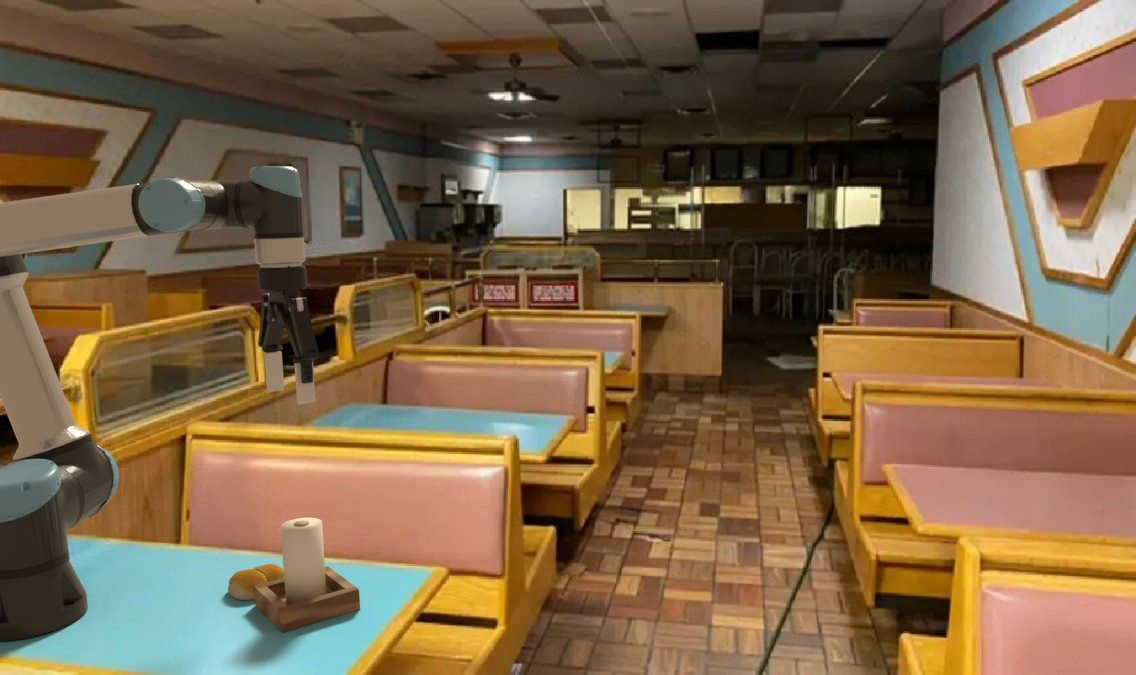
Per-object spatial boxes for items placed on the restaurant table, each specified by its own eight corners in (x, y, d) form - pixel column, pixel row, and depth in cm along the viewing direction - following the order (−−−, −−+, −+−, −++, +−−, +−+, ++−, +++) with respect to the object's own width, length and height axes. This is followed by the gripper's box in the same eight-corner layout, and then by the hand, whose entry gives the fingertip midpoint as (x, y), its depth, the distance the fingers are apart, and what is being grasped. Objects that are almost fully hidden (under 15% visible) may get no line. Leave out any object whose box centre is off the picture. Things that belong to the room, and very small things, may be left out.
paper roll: (280, 598, 143) (275, 521, 141) (317, 588, 146) (313, 513, 144) (293, 611, 138) (288, 532, 136) (332, 600, 141) (328, 523, 140)
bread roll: (297, 588, 150) (295, 564, 150) (245, 606, 144) (243, 581, 143) (271, 575, 156) (269, 552, 155) (220, 592, 149) (218, 568, 149)
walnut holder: (255, 605, 143) (253, 585, 143) (329, 584, 150) (327, 566, 150) (282, 632, 134) (280, 611, 133) (360, 609, 141) (358, 589, 140)
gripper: (335, 266, 139) (344, 405, 142) (276, 261, 159) (285, 383, 162) (286, 269, 135) (296, 412, 138) (232, 263, 155) (242, 389, 158)
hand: (290, 396), depth 150 cm, fingers open, 13 cm apart
